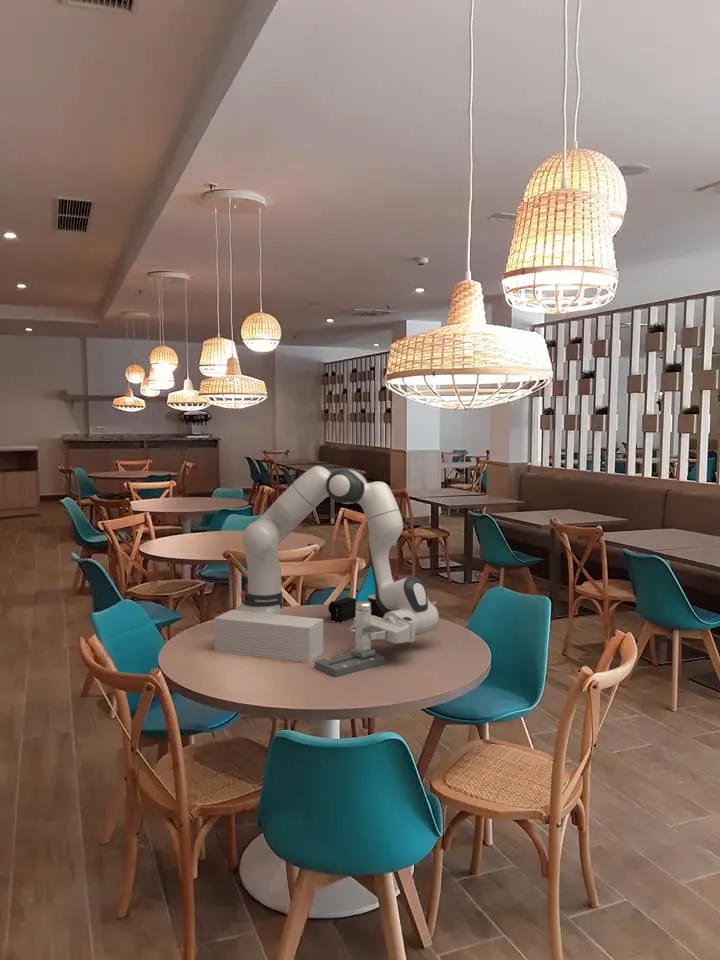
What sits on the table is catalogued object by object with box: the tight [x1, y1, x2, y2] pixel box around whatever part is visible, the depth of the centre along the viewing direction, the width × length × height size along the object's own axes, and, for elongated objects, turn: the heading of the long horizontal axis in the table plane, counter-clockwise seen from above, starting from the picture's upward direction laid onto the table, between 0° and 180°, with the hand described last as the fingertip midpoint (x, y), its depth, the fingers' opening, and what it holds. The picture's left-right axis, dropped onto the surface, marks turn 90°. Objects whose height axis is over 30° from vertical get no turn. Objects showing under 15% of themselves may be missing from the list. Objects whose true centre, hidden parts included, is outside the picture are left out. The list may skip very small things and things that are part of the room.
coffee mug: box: [367, 593, 385, 618], centre depth 259 cm, size 12×9×10 cm
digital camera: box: [327, 596, 357, 624], centre depth 268 cm, size 10×5×7 cm, turn 148°
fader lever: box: [350, 600, 376, 658], centre depth 219 cm, size 5×5×16 cm
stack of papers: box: [214, 609, 324, 663], centre depth 230 cm, size 32×11×11 cm, turn 70°
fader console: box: [314, 651, 385, 678], centre depth 217 cm, size 18×10×2 cm, turn 129°
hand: (360, 633), depth 219 cm, fingers open, 7 cm apart
